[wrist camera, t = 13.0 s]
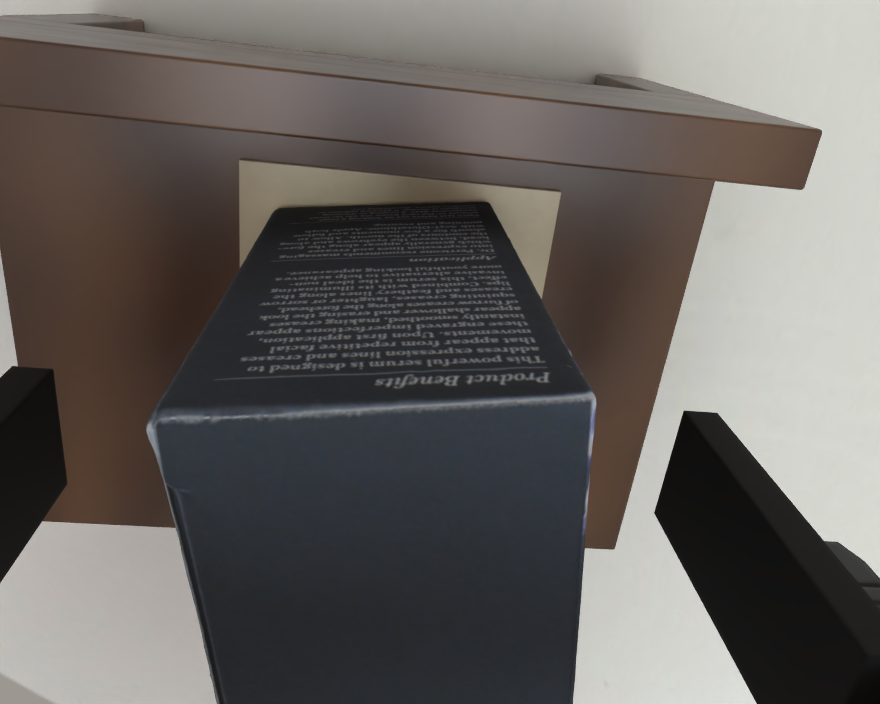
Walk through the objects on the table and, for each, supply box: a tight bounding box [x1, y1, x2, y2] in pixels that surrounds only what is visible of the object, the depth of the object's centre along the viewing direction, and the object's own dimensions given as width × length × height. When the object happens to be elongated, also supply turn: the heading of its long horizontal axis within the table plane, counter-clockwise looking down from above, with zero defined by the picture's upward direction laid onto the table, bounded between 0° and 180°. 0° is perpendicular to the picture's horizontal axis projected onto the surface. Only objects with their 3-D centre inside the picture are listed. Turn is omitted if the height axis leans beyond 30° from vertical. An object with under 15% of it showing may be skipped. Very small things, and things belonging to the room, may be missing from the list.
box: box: [146, 202, 596, 704], centre depth 15 cm, size 8×6×11 cm
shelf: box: [0, 14, 822, 549], centre depth 21 cm, size 18×14×12 cm
